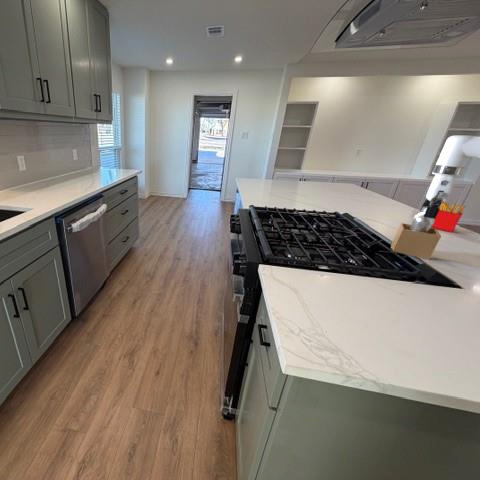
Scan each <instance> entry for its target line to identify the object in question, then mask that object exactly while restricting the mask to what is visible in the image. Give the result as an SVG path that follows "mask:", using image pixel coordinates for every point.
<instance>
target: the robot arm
mask: <svg viewBox="0 0 480 480" xmlns="http://www.w3.org/2000/svg"><path fill="white" fill-rule="evenodd" d="M470 158H478V159H479V158H480V136H477V135H468V134H467V135H465V134H464V135H463V134H462V135H461V134H458V135H456V134H455V135H451V136H449V137H448V138H447V139H446V141H445V143H444V145H443V147H442V149H441V152H440V154H439V157H438V158H437V161H436V163H435V165H434V168H433V170H432V172H431V174H432V175H434V176H433V178H432V181H431V183H430V185H429V187H428V190H427V192H426V195H425V200H424V201H423V203H422V205H421V208H420V210H419V211H420V213H421V212H422V211H421V210H422V208H423V207H424V206H427V209H426V212H425V214H424V217H427V218H435V217H436V215H437V213H438V211H439V209H440V207H441V203H448V200H449V199H450V196H451V194H452V191H453V189H454V186H455V185H456V184H455V183H456V181H457V177H458V178H459V177H461V176H462V174H463V172H464V170H465V168H466V165H467V164H468V162H469V160H470Z"/></svg>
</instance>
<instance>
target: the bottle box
mask: <svg viewBox="0 0 480 480" xmlns="http://www.w3.org/2000/svg"><path fill="white" fill-rule="evenodd" d="M410 227H411V224H409V223H404V222H400V224H399V226H398V229H397V230H396V233H395V235H394V237H393V240H392V242H391V245H390V246H391V247H390V249H391V251H392V252H394V253H398V254H403V255H407V256H410V257H411V256H412V257H414V258H415V257H416V258H419V259H425V260H430V259H431V257H432V255H433V253H434V251H435V250H436V247H437V245H438V243H439V241H440V239H441V238H442V235H441V233H440V232H439V231H438V229H435V228H430V229H429V231H428V233H424V232H418V231H413V230H410Z"/></svg>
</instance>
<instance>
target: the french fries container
mask: <svg viewBox="0 0 480 480" xmlns="http://www.w3.org/2000/svg"><path fill="white" fill-rule="evenodd" d="M450 205H451V204H450V202H449V203H448V202H446V203H443V202H441V206H440V209H439V211H438V213H437V215H436V217H435V218H434V224H433V225H432V227H431V228H433V229H437V230H439V231H443V232H449V233H453V232H454V230H455V228H456V227H457V225H458V223H459V221H460V219H461V218H462V215H463V214H464V213H463V211H464V210H465V208H466V205H462V206H461V205H460V204H456V203H453V204H452V206H451V207H449V206H450ZM460 206H461V207H460ZM459 208H460V209H459ZM458 210H459V211H458Z"/></svg>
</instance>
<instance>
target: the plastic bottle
mask: <svg viewBox="0 0 480 480" xmlns="http://www.w3.org/2000/svg"><path fill="white" fill-rule="evenodd" d="M421 208H422V207H421ZM426 209H427V206H424V207H423V208H422V210H421V209H420V210H421V211H422V212H421V211H420V212H419V213H418V214H417V213H416V215H414V216H413V217H412V221H411V224H410V225H411V227H410V230H413V231H418V232H424V233H428V231H429V229H430V228H431V227H432V225H433V224H434V218H427V217H424V214H425V212H426Z"/></svg>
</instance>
